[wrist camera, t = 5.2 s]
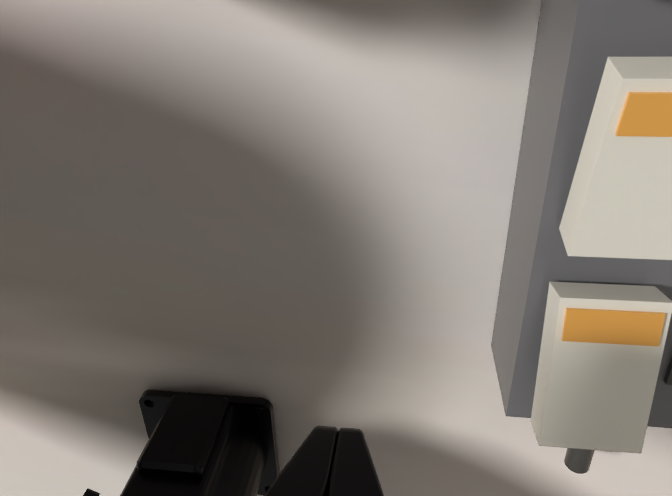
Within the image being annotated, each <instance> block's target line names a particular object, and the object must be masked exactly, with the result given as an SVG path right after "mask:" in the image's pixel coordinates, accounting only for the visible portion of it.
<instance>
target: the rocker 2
mask: <svg viewBox="0 0 672 496" xmlns="http://www.w3.org/2000/svg"><path fill="white" fill-rule="evenodd" d="M671 314H672V301H671V300H670V299H669V298H668V297H667V296H665V295H664V294H663V293H662V292H661V291H660V290H659V289H658V288H656V287H655V286H639V285H616V284H594V283H571V282H549V289H548V297H547V304H546V311H545V319H544V326H543V333H542V341H541V348H540V355H539V363H538V370H537V378H536V385H535V392H534V400H533V407H532V414H531V424H532V427H533V430H534V433H535V436H536V439H537V442H538V444H539V446H551V447H564V448H577V449H590V450H603V451H616V452H629V453H641V452H642V447H643V442H644V438H645V433H646V429H647V424H648V419H649V415H650V410H651V406H652V401H653V397H654V392H655V387H656V383H657V378H658V374H659V369H660V364H661V360H662V355H663V351H664V346H665V341H666V337H667V332H668V328H669V323H670V319H671Z"/></svg>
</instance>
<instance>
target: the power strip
mask: <svg viewBox="0 0 672 496" xmlns="http://www.w3.org/2000/svg"><path fill="white" fill-rule="evenodd" d="M608 57H672V0H542V3H541V10H540V17H539V24H538V31H537V38H536V44H535V51H534V58H533V65H532V72H531V78H530V85H529V92H528V99H527V106H526V112H525V119H524V126H523V133H522V140H521V147H520V153H519V160H518V167H517V174H516V181H515V187H514V194H513V201H512V208H511V215H510V221H509V228H508V235H507V242H506V249H505V256H504V262H503V269H502V276H501V283H500V290H499V296H498V303H497V310H496V317H495V324H494V330H493V337H492V344H491V347H492V351H493V356H494V361H495V366H496V371H497V376H498V380H499V385H500V390H501V395H502V400H503V405H504V409H505V414H506V416H511V417H525V418H531V414H532V407H533V400H534V392H535V385H536V378H537V370H538V363H539V355H540V348H541V341H542V333H543V326H544V319H545V311H546V304H547V297H548V289H549V282H571V283H594V284H616V285H639V286H655V287H656V288H658V289H659V290H660V291H661V292H662V293H663V294H664V295H665V296H667V297H668V298H669V299H670V300H671V301H672V260H657V259H631V258H605V257H579V256H568V255H567V252H566V249H565V246H564V242H563V239H562V236H561V233H560V230H559V227H560V223H561V220H562V216H563V213H564V209H565V206H566V202H567V199H568V195H569V192H570V188H571V185H572V181H573V178H574V174H575V171H576V167H577V164H578V160H579V157H580V153H581V149H582V146H583V142H584V139H585V135H586V132H587V128H588V125H589V121H590V118H591V114H592V111H593V107H594V104H595V100H596V97H597V93H598V90H599V86H600V83H601V79H602V76H603V72H604V69H605V65H606V62H607V58H608ZM647 426H650V427H664V428H672V314H671V319H670V323H669V328H668V332H667V337H666V341H665V346H664V351H663V355H662V360H661V364H660V369H659V374H658V378H657V383H656V387H655V392H654V397H653V401H652V406H651V410H650V415H649V419H648V424H647ZM593 454H594V450H590V449H577V448H567V452H566V456H565V460H564V461H565V465H566V466H567V467H568V468H569V469H570V470H571V471H573V472H575V473H581V474H582V473H586V472H587V471H588V470H589V467H590V464H591V460H592V457H593Z"/></svg>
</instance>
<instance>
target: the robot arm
mask: <svg viewBox="0 0 672 496" xmlns="http://www.w3.org/2000/svg"><path fill="white" fill-rule="evenodd" d="M150 400H151V401H150ZM139 403H140V407H141V411H142V415H143V418H144V422H145V426H146V430H147V434H148V438H149V440H148V442H147V444H146V446H145V448H144V450H143V451H142V453H141V455H140V457H139V459H138V461H137V465H136V467H135V469H134V471H133V472H132V474H131V476H130V478H129V480H128V482H127V484H126V486H125V488H124V489H123V491H122V493H121V495H120V496H257V494H258V495H264V496H384V494H383V491H382V488H381V485H380V482H379V479H378V476H377V473H376V470H375V467H374V464H373V461H372V458H371V455H370V452H369V449H368V446H367V443H366V440H365V437H364V434H363V432H362V430H360V429H354V428H341V429H340V430H338V429H337V428H336V427H328V426H317V427H315V428H314V429H313V430H312V431H311V433H310V434H309V436H308V437H307V438H306V440H305V441H304V442H303V444H302V445H301V446H300V448H299V449H298V450H297V452H296V453H295V454H294V456H293V457H292V458H291V460H290V461H289V462H288V464H287V465H286V466H285V468H284V469H283V470H282V472H281V473H280V475H279V465H278V455H277V446H276V436H275V427H274V417H273V407H272V404H271V403H270V402H269V401H268V400H266V399H264V398H255V397H241V396H227V395H213V394H199V393H185V392H171V391H157V390H147V391H145V392H144V393H143V395H142V397H141V398H140V400H139ZM259 408H262V409H264V410H262V409H259ZM99 495H100V493H97V492H95V491H93V490H91V489H87V490H86V492H85V493H84V495H83V496H99Z"/></svg>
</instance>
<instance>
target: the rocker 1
mask: <svg viewBox="0 0 672 496" xmlns="http://www.w3.org/2000/svg"><path fill="white" fill-rule="evenodd" d="M559 230H560V233H561V236H562V239H563V242H564V246H565V249H566V252H567V255H568V256H579V257H605V258H631V259H657V260H672V57H608V58H607V62H606V65H605V69H604V72H603V76H602V79H601V83H600V86H599V90H598V93H597V97H596V100H595V104H594V107H593V111H592V114H591V118H590V121H589V125H588V128H587V132H586V135H585V139H584V142H583V146H582V149H581V153H580V157H579V160H578V164H577V167H576V171H575V174H574V178H573V181H572V185H571V188H570V192H569V195H568V199H567V202H566V206H565V209H564V213H563V216H562V220H561V223H560V227H559Z"/></svg>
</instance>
